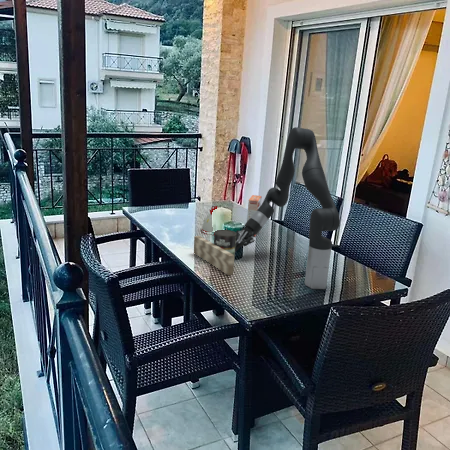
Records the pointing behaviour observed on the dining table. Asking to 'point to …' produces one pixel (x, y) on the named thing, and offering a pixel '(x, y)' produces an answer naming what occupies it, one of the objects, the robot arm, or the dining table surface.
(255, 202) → the cracker box
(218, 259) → the birch board
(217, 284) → the dining table surface
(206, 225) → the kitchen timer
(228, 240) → the coffee can
